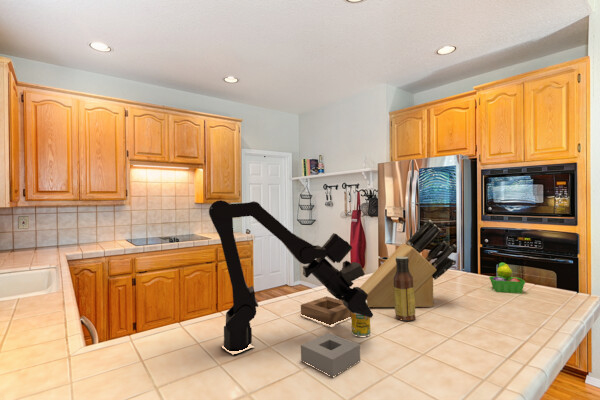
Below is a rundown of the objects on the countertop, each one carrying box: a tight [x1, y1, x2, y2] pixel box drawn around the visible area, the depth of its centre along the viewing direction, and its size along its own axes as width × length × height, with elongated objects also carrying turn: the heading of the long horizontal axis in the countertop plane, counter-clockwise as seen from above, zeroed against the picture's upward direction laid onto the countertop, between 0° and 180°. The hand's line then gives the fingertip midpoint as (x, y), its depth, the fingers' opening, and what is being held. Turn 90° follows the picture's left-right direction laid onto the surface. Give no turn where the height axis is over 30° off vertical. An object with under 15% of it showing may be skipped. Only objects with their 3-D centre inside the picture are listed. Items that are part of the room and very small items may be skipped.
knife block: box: [359, 219, 458, 308], centre depth 117 cm, size 11×35×31 cm, turn 89°
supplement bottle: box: [350, 300, 372, 337], centre depth 90 cm, size 5×5×10 cm
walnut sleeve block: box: [300, 296, 351, 325], centre depth 104 cm, size 13×13×4 cm
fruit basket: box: [488, 262, 526, 294], centre depth 131 cm, size 11×9×11 cm
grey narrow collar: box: [300, 332, 361, 378], centre depth 75 cm, size 10×10×4 cm
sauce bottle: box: [394, 257, 416, 322], centre depth 102 cm, size 7×6×20 cm
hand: (365, 310), depth 91 cm, fingers open, 9 cm apart
